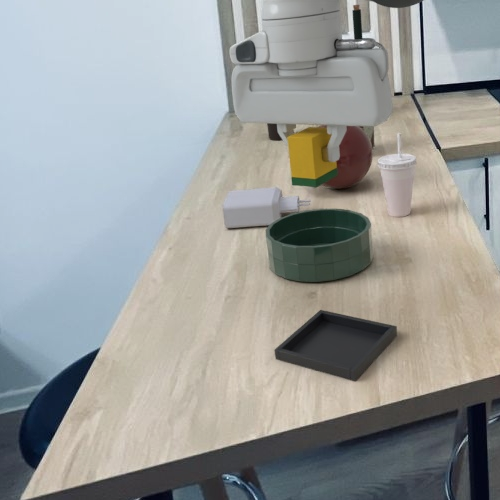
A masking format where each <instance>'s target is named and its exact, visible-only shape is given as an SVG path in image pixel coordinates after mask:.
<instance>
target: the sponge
mask: <svg viewBox="0 0 500 500" xmlns="http://www.w3.org/2000/svg"><path fill="white" fill-rule="evenodd" d="M294 133H295V134H293V135H291V136H288V137H287V138H288V148H289V157H288V159H289V158H290V159H289V166H290V167H289V168H290V176H291V185H292V186H299V187H306V188H307V187H308V188H319V187H320V186H322V185H321V184H323V183H325V182H327V181H328V180H330V179H332V178H334V177H336V176H337V163H336V161H335V162H324V161H323V160H322V156H323V155H322V152H321V148H322V147H324V146H326V145H328V143H329V141H330V138H331V136H332V134H328V133H327V128H324V127H319V126H309V127H307V128H304V129H302V130H299V131H297V132H294Z"/></svg>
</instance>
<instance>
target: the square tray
mask: <svg viewBox="0 0 500 500" xmlns="http://www.w3.org/2000/svg"><path fill="white" fill-rule="evenodd" d="M397 336H398V326H397V325H392V324H389V323H383V322H379V321H374V320H371V319H365V318H360V317H356V316H352V315H347V314H342V313H339V312H333V311H328V310H325V309H324V310H323V309H319V310H318V311H317V312H316V313H315V314H314V315H313V316H311V318H309V319H308V320H307V321H306V322H304V323H303V324H302V325H301V326H300V327H298V328H297V329H296V330H295V331H294V332H293V333H292V334H290V336H289V337H287V338H286V339H285V340H283V342H281V343H280V344H279V345H278V346H277V347H276V348H274V350H273V351H274V357H275V360H277V361H281V362H285V363H288V364H291V365H295V366H298V367H303V368H306V369H309V370H313V371H316V372H320V373H324V374H327V375H330V376H335V377H338V378H342V379H344V380H348V381H352V382H357V381H358V379H360V377H362V375H363V374H364V373H365V372H366V371H367V370H368V369H369V368H370V366H372V364H373V363H374V362H375V361H376V360H377V359H378V358H379V356H380V355H381V354H382V353H383V352H384V351H385V350H386V349H387V347H389V345H391V343H392V342H393V341H394V340H395V339H396V338H397Z"/></svg>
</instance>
